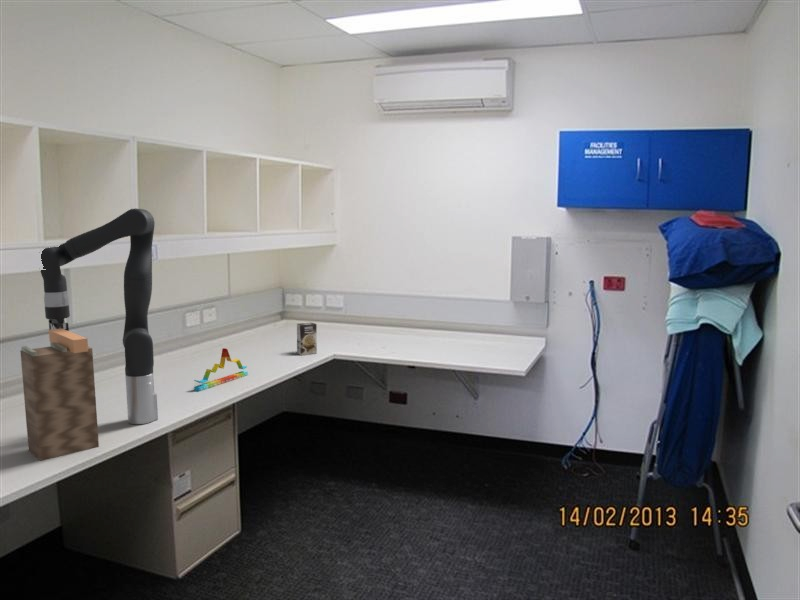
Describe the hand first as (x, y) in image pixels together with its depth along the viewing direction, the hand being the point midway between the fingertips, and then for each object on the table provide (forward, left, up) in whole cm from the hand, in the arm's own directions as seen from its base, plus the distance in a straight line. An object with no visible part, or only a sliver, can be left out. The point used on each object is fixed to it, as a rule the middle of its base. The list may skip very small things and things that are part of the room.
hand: (60, 350), depth 226 cm
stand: (+9, +28, -26) cm, 39 cm away
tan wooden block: (+5, +26, +6) cm, 27 cm away
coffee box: (-128, -31, -26) cm, 134 cm away
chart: (-67, -9, -27) cm, 72 cm away
